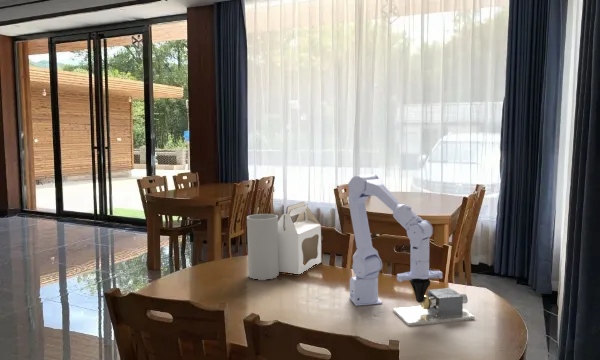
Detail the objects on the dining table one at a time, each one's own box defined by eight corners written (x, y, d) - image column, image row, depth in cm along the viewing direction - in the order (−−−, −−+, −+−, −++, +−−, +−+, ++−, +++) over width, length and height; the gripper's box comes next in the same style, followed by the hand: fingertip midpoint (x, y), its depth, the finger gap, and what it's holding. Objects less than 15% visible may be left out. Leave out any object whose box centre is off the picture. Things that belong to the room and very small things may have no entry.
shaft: (425, 311, 147) (426, 298, 146) (419, 306, 151) (419, 293, 151) (468, 307, 150) (469, 294, 149) (461, 302, 154) (461, 289, 154)
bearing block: (408, 325, 142) (408, 303, 141) (393, 311, 154) (393, 290, 153) (474, 319, 146) (475, 297, 145) (454, 305, 158) (455, 285, 157)
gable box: (298, 275, 194) (297, 208, 191) (271, 271, 200) (269, 206, 197) (321, 262, 213) (320, 201, 210) (296, 259, 219) (295, 199, 216)
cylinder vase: (278, 280, 187) (276, 219, 185) (246, 281, 188) (245, 219, 185) (279, 271, 200) (278, 213, 197) (250, 272, 200) (248, 214, 197)
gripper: (403, 264, 142) (403, 308, 143) (447, 261, 145) (446, 304, 146) (394, 258, 149) (394, 300, 150) (436, 255, 152) (436, 296, 153)
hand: (419, 301), depth 149 cm, fingers closed
